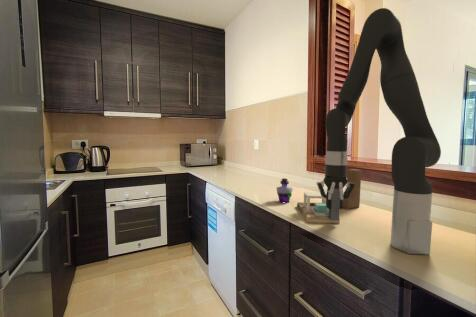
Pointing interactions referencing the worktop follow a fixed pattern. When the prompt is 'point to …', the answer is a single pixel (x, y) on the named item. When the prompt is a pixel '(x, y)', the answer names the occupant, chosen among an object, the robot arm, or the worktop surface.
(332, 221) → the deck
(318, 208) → the block
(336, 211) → the grey angular piece
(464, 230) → the worktop surface
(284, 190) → the potion bottle
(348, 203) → the wooden block
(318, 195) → the cream open box
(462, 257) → the worktop surface
